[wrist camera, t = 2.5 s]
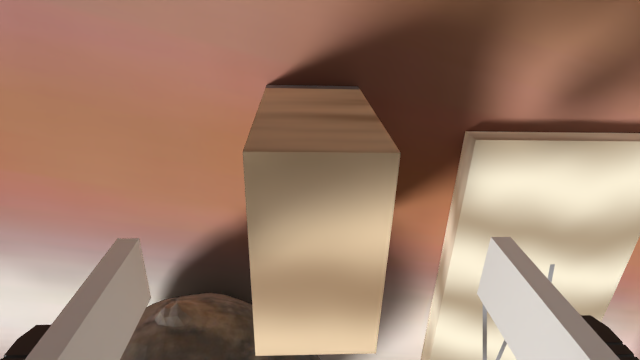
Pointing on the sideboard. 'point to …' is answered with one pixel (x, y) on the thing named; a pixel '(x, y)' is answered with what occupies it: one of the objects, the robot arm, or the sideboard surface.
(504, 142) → the board
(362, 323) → the block
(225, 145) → the sideboard surface
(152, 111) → the sideboard surface
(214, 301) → the bowl
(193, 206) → the sideboard surface
